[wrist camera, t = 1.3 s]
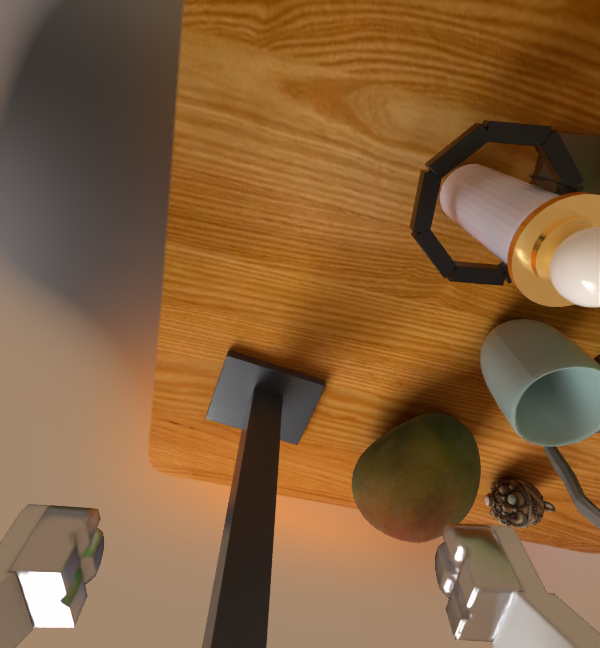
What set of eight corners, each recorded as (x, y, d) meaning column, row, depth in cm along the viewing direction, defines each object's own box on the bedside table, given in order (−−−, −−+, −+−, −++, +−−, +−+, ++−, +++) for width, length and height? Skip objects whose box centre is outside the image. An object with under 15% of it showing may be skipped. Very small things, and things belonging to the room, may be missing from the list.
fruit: (337, 470, 50) (344, 551, 41) (375, 380, 45) (393, 450, 36) (434, 491, 52) (461, 573, 43) (482, 405, 46) (525, 479, 37)
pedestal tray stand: (195, 417, 47) (34, 896, 19) (221, 338, 43) (64, 803, 15) (303, 448, 49) (303, 927, 21) (338, 375, 45) (399, 853, 16)
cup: (473, 308, 41) (520, 366, 32) (560, 304, 41) (631, 362, 32) (464, 379, 45) (504, 449, 36) (543, 376, 45) (603, 446, 36)
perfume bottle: (461, 240, 38) (598, 365, 21) (415, 195, 37) (521, 289, 19) (516, 188, 36) (721, 275, 19) (470, 138, 35) (647, 181, 17)
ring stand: (388, 250, 39) (406, 281, 32) (413, 112, 34) (439, 116, 27) (574, 265, 39) (628, 299, 33) (624, 132, 35) (700, 140, 28)
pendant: (483, 466, 50) (501, 503, 45) (550, 471, 50) (575, 508, 46) (471, 499, 52) (487, 536, 48) (535, 503, 52) (557, 541, 48)
